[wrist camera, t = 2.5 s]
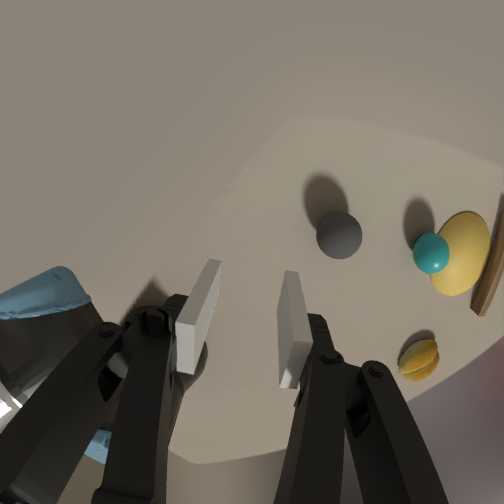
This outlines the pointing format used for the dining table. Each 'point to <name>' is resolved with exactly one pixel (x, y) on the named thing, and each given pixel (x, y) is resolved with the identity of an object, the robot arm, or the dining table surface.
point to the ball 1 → (339, 235)
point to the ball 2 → (431, 253)
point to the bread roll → (419, 360)
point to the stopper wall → (491, 273)
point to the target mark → (463, 253)
